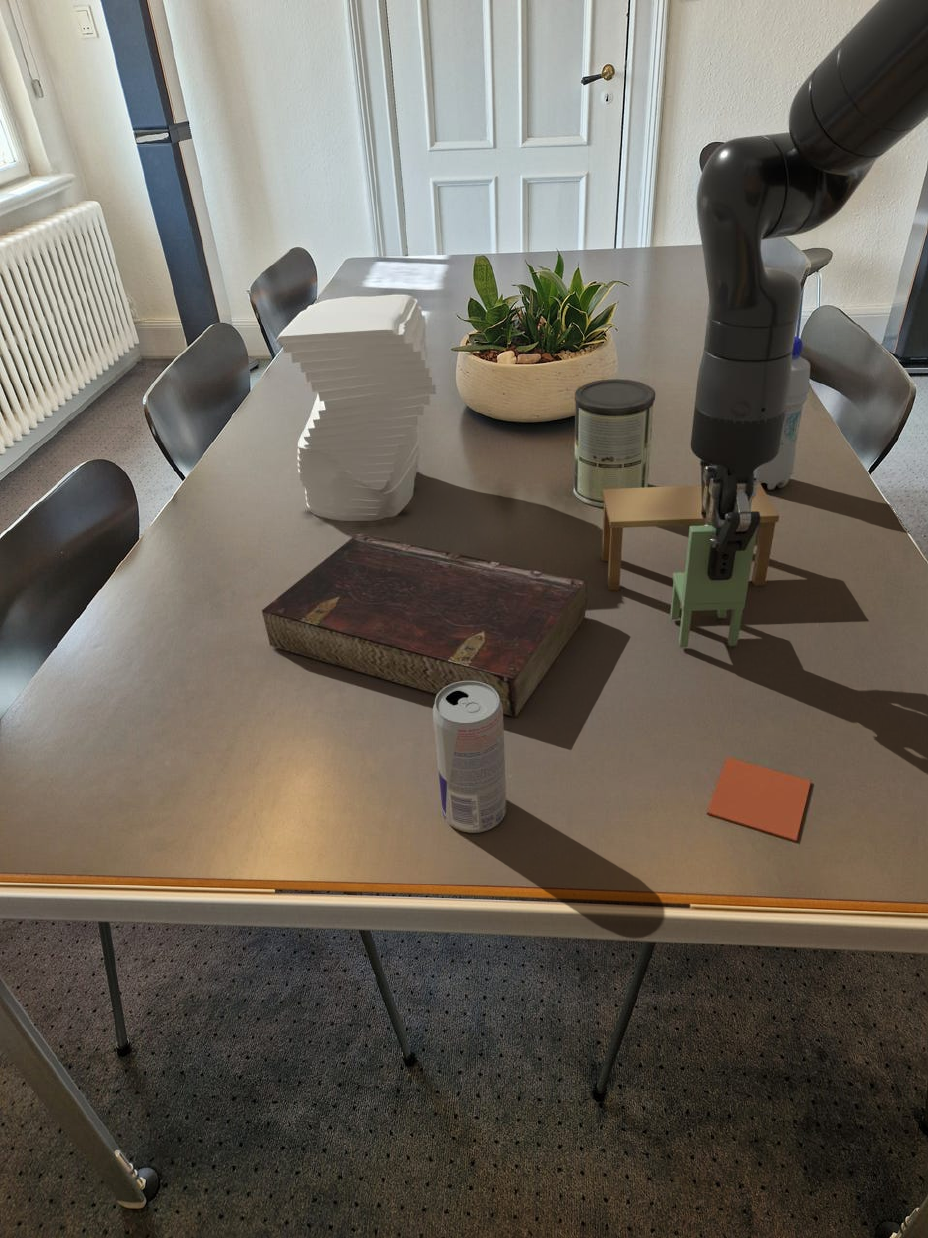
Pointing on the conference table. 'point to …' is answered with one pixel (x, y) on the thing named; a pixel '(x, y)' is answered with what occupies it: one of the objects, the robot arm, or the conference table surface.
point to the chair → (710, 585)
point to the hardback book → (429, 617)
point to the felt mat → (760, 798)
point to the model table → (672, 520)
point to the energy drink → (470, 755)
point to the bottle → (788, 424)
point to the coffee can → (611, 437)
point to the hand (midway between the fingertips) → (716, 572)
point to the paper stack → (361, 403)
